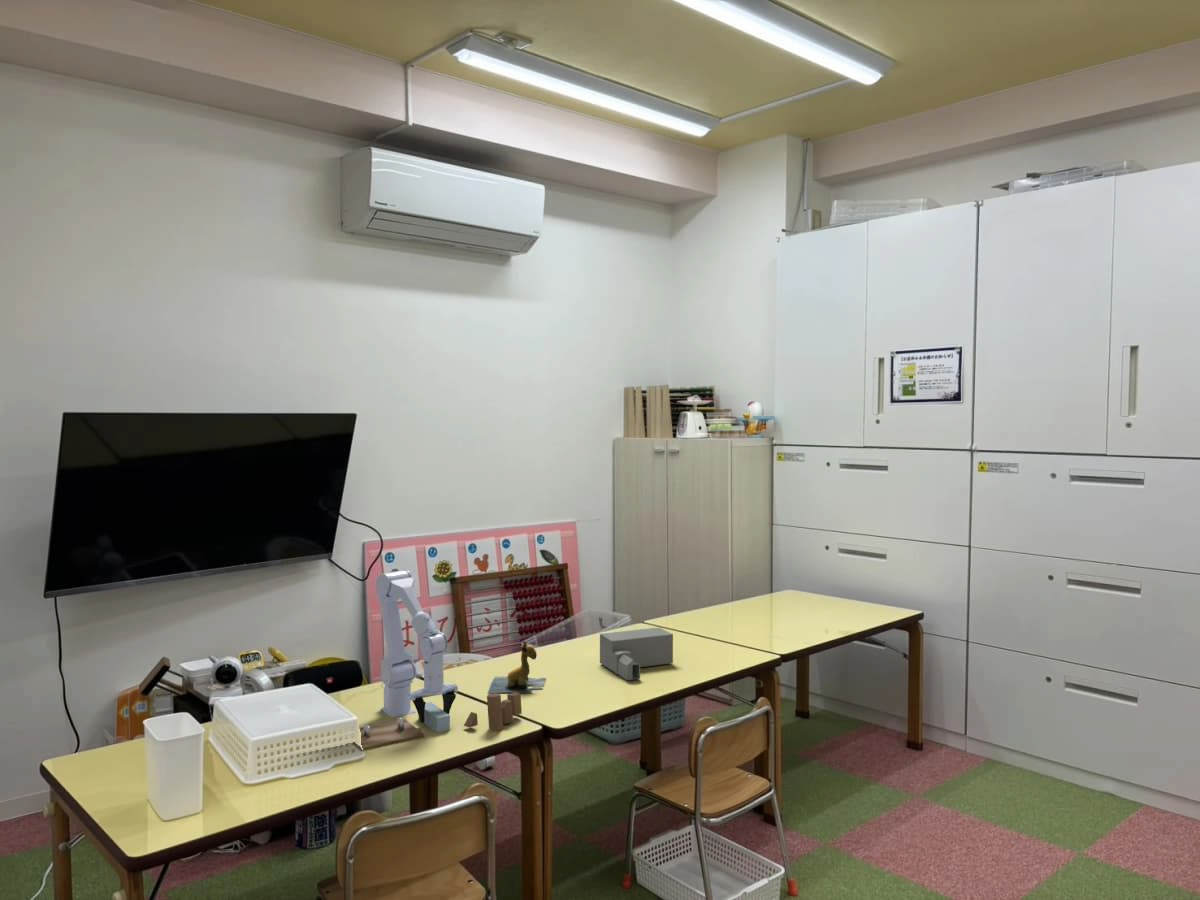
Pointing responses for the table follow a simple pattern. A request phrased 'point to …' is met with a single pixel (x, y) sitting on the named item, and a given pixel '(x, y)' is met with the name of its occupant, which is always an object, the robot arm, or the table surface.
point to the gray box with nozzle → (635, 650)
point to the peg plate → (388, 733)
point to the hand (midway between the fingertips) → (434, 719)
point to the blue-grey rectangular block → (436, 718)
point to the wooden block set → (498, 711)
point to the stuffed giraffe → (519, 676)
